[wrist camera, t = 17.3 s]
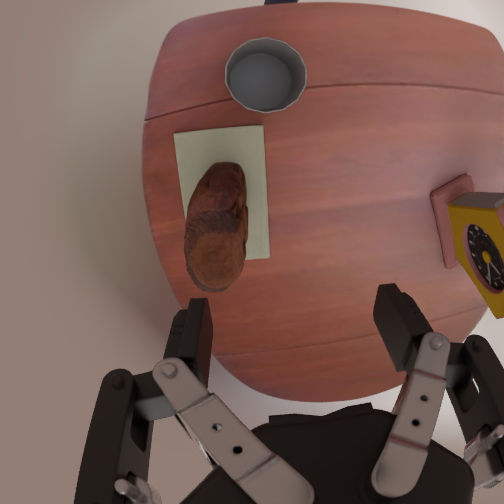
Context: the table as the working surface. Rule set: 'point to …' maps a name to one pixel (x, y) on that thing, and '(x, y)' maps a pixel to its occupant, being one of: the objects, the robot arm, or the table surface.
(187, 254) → the wooden figurine
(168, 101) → the table surface
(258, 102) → the cup
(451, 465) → the robot arm
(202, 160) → the mat
